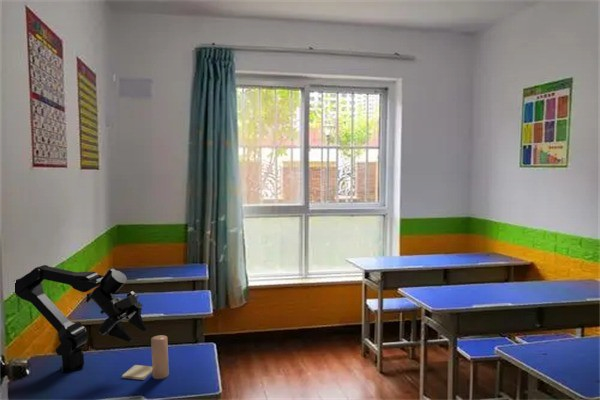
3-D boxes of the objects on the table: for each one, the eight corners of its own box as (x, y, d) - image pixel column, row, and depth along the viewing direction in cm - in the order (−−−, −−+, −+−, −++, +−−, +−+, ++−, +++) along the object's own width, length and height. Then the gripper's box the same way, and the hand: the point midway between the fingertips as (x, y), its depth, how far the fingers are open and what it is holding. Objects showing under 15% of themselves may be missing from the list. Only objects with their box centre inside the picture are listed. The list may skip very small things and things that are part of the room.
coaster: (122, 377, 159) (121, 375, 159) (135, 367, 167) (134, 364, 167) (143, 379, 158) (143, 377, 158) (155, 369, 166) (155, 366, 166)
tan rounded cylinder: (154, 380, 157) (152, 342, 156) (151, 374, 162) (149, 337, 161) (170, 376, 160) (168, 339, 158) (166, 370, 164) (165, 334, 163)
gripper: (104, 294, 151) (137, 330, 150) (136, 279, 170) (166, 311, 168) (84, 317, 154) (116, 352, 153) (117, 299, 172) (147, 331, 171)
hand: (138, 335), depth 161 cm, fingers open, 9 cm apart
